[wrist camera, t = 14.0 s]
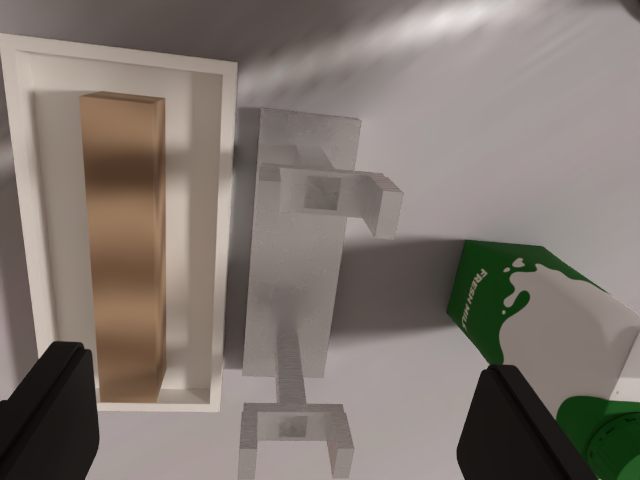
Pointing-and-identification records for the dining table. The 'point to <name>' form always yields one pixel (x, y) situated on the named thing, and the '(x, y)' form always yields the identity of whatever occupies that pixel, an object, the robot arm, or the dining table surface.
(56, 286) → the off-white tray
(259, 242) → the steel stand
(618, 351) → the milk carton
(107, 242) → the walnut rail
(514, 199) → the dining table surface
